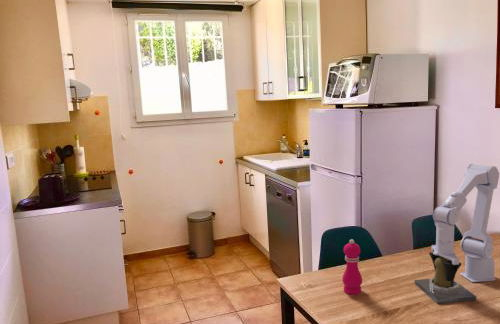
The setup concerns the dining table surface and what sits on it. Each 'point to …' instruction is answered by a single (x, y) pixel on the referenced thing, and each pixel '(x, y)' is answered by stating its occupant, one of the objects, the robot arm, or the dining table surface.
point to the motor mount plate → (445, 297)
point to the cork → (441, 273)
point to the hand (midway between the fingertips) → (444, 276)
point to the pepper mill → (352, 269)
